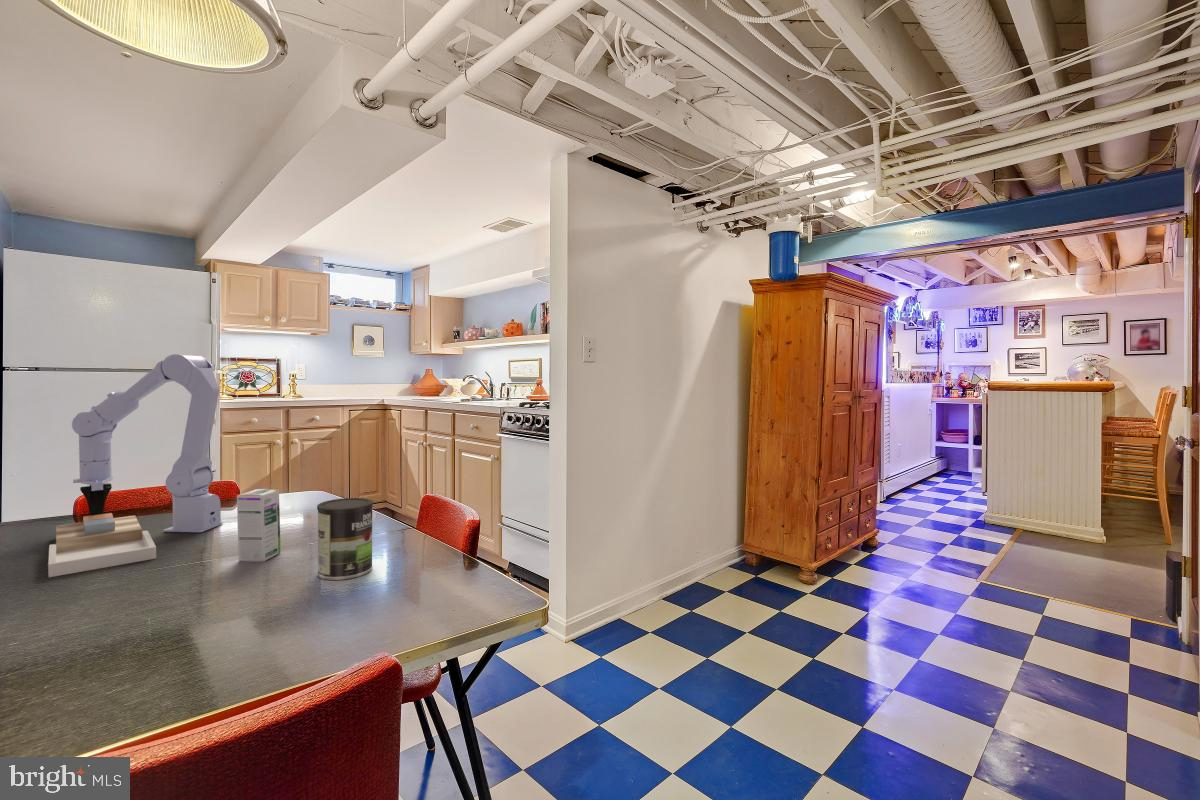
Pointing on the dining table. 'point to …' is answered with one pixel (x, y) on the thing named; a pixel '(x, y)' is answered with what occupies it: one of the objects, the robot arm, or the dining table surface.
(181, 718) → the dining table surface
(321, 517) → the coffee can
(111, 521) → the slate tile
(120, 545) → the tray
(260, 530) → the syrup box
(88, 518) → the terracotta tile
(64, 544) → the birch board
